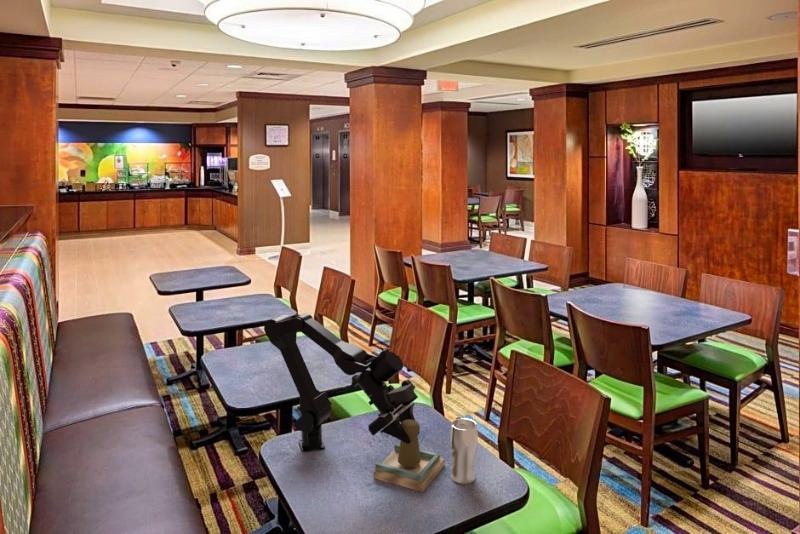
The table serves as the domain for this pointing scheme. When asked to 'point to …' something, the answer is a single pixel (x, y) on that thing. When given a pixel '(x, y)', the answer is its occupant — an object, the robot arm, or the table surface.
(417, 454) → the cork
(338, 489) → the table surface
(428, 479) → the dock
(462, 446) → the silver metal tumbler
